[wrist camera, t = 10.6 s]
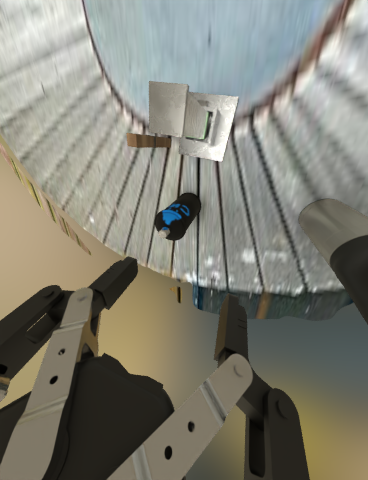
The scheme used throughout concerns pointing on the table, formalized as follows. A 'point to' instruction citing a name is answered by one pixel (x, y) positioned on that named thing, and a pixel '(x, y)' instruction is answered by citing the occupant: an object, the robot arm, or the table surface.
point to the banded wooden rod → (147, 141)
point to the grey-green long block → (176, 111)
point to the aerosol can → (177, 217)
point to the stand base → (212, 127)
